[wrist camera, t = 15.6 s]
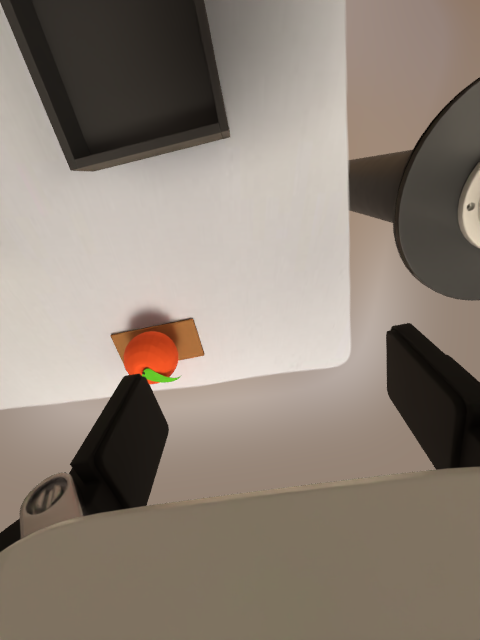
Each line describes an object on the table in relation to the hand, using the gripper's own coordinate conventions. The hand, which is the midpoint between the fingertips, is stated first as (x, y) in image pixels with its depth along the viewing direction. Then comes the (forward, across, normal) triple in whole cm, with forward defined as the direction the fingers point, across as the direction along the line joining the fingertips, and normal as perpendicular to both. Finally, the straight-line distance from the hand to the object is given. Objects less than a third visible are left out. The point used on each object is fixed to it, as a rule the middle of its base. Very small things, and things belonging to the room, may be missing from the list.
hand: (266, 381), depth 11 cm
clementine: (+27, +16, +11) cm, 33 cm away
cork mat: (+27, +16, +11) cm, 33 cm away
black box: (+27, +8, -19) cm, 34 cm away
